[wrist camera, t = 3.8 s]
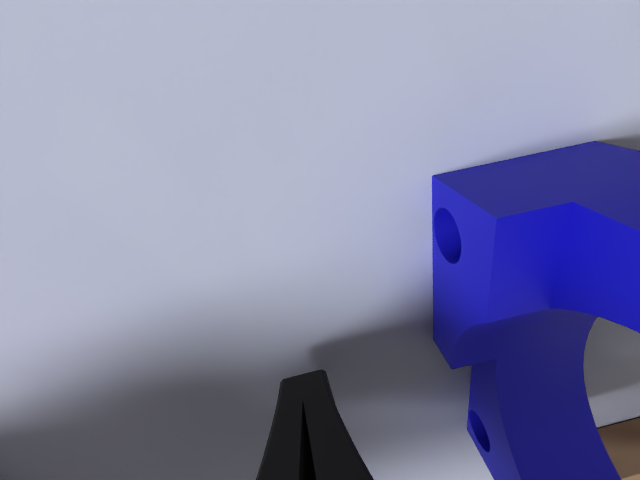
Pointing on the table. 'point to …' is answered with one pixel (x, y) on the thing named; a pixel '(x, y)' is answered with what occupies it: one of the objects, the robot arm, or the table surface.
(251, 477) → the table surface
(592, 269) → the blue curved bracket
